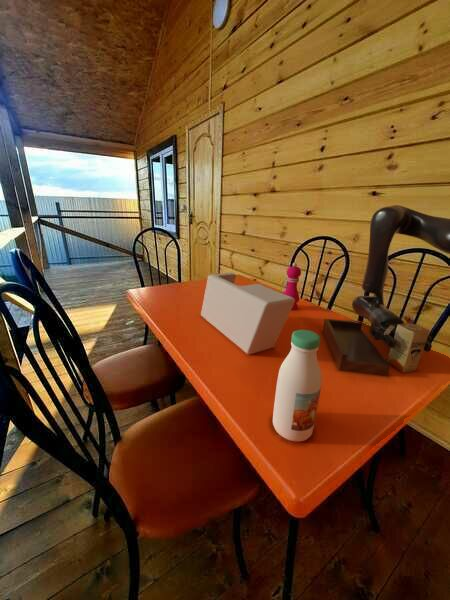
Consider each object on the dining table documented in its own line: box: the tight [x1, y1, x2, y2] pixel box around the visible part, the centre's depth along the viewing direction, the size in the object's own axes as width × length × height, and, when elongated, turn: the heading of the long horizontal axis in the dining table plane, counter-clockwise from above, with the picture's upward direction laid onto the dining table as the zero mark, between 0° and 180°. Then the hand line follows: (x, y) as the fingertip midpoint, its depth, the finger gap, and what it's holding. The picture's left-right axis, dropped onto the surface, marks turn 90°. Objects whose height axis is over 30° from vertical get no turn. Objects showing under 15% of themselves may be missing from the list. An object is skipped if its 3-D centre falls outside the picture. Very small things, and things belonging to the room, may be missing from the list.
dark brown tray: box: [322, 318, 391, 377], centre depth 78 cm, size 12×24×5 cm, turn 170°
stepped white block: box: [200, 272, 295, 355], centre depth 83 cm, size 30×10×30 cm, turn 30°
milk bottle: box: [272, 329, 323, 442], centre depth 46 cm, size 8×8×20 cm
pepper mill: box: [282, 262, 302, 311], centre depth 109 cm, size 7×7×20 cm
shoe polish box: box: [386, 322, 431, 373], centre depth 69 cm, size 5×5×12 cm
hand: (411, 346), depth 67 cm, fingers open, 8 cm apart
